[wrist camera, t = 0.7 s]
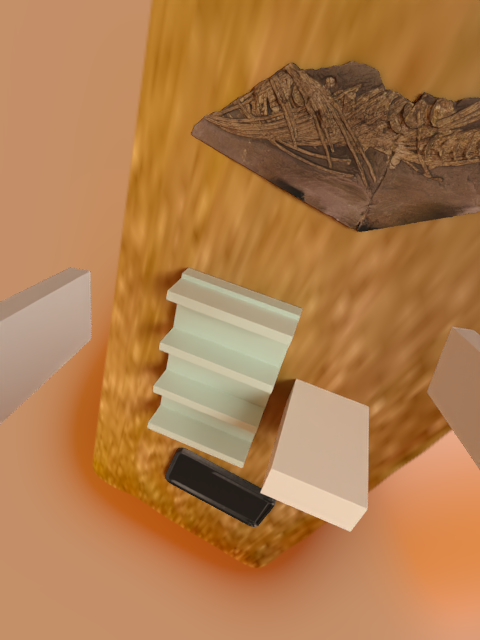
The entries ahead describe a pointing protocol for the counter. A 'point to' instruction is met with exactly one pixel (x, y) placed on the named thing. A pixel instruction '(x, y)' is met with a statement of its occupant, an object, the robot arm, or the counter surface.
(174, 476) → the phone
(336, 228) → the counter surface
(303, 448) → the beige rectangular block
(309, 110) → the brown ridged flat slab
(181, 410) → the slotted rack base
